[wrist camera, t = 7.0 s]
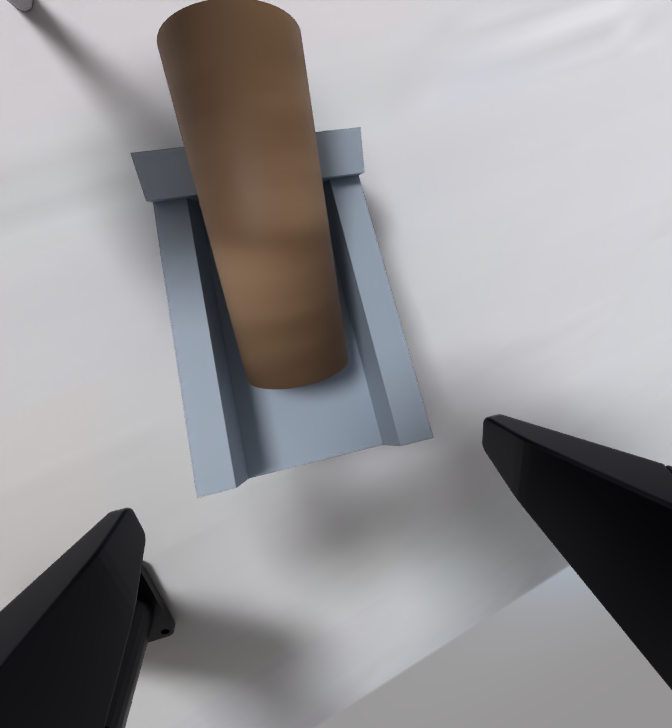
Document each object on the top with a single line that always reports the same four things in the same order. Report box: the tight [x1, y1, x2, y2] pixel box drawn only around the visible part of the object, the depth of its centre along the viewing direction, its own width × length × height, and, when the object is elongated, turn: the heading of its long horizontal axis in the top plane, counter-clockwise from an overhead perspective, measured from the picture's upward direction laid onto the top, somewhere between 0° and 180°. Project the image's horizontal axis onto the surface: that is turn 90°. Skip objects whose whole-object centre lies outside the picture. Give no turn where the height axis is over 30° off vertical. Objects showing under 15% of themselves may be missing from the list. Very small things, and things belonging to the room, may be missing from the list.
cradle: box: [131, 127, 433, 498], centre depth 12 cm, size 11×7×8 cm, turn 8°
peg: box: [157, 0, 348, 390], centre depth 9 cm, size 3×3×8 cm
